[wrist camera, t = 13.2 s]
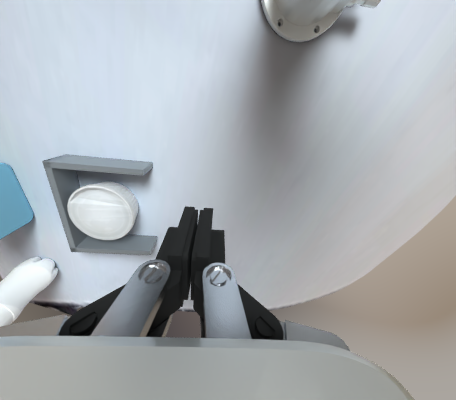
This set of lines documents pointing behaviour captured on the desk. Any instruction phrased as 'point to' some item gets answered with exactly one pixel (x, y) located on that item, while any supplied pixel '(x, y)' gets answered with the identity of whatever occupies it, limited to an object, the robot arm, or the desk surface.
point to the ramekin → (103, 210)
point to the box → (68, 183)
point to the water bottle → (24, 286)
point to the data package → (12, 203)
